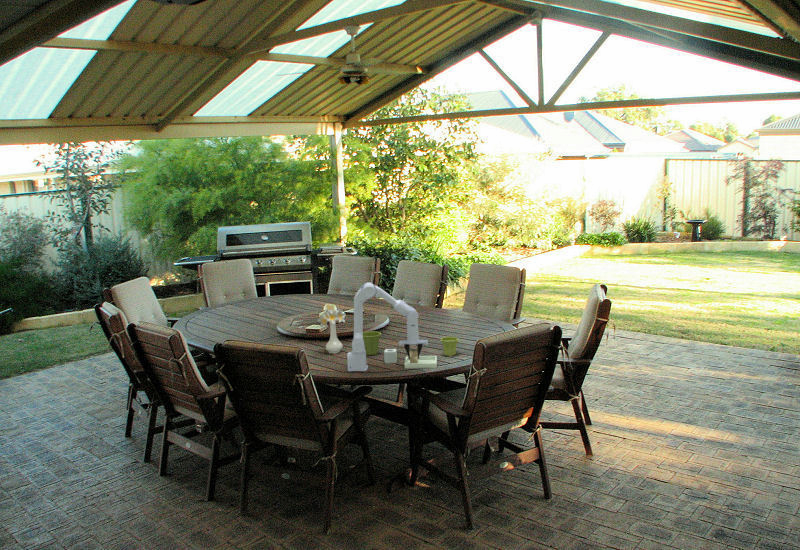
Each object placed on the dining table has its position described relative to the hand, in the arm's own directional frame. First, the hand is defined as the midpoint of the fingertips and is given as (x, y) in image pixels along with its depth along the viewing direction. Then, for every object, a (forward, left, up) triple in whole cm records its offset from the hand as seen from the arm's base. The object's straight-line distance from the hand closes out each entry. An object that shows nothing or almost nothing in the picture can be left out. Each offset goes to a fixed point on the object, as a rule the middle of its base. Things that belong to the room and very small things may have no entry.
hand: (413, 358), depth 318 cm
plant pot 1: (-24, +24, -4) cm, 35 cm away
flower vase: (-45, +28, -4) cm, 54 cm away
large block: (-12, +8, -4) cm, 15 cm away
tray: (+4, +1, -3) cm, 5 cm away
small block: (0, 0, -2) cm, 2 cm away
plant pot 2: (+19, +18, -4) cm, 26 cm away
